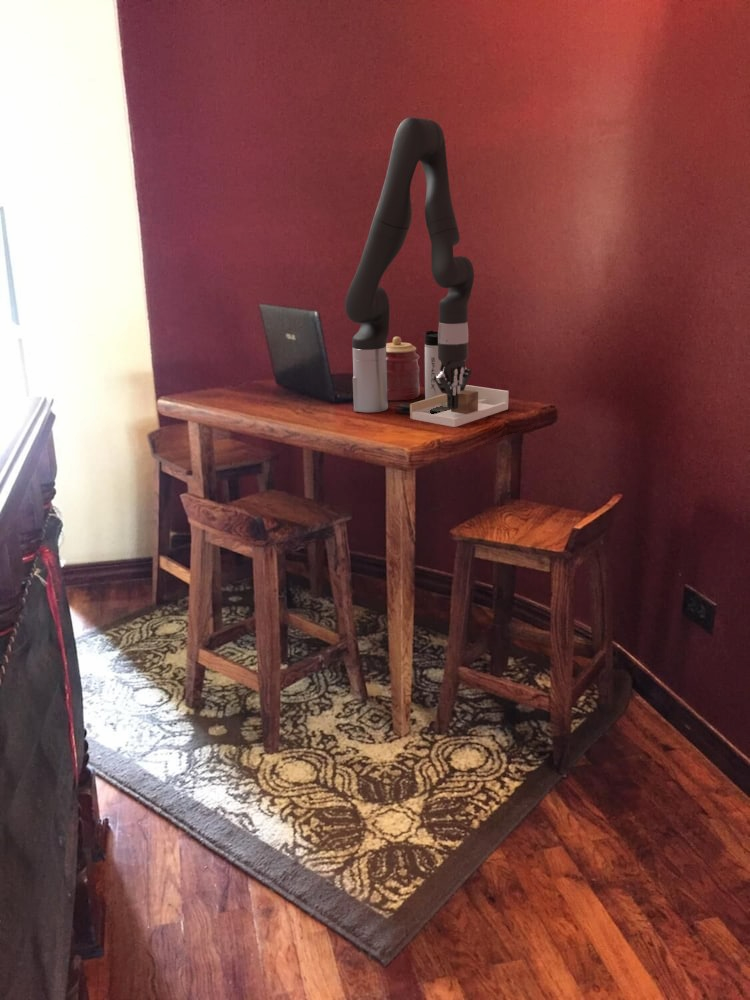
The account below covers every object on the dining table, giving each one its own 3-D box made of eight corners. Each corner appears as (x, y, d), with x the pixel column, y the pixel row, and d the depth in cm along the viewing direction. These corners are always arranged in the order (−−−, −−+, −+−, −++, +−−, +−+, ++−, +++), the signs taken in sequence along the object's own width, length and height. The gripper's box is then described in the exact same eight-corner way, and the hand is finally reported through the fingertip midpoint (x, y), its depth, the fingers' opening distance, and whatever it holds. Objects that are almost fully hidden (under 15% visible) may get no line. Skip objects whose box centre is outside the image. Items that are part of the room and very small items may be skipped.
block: (466, 414, 200) (466, 395, 198) (450, 411, 203) (451, 392, 201) (477, 410, 203) (478, 391, 201) (462, 407, 206) (462, 389, 205)
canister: (378, 392, 238) (376, 333, 232) (420, 391, 236) (420, 333, 230) (374, 401, 226) (372, 340, 220) (418, 401, 224) (418, 339, 218)
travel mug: (437, 399, 226) (437, 329, 219) (451, 403, 221) (451, 331, 214) (420, 402, 223) (419, 331, 216) (433, 406, 218) (433, 334, 211)
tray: (454, 427, 196) (454, 407, 194) (410, 418, 205) (409, 400, 203) (508, 409, 212) (508, 391, 210) (464, 402, 221) (464, 384, 220)
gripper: (448, 345, 186) (448, 416, 192) (481, 338, 195) (480, 406, 201) (424, 342, 191) (424, 411, 197) (457, 336, 200) (457, 402, 206)
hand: (452, 408), depth 199 cm, fingers closed
